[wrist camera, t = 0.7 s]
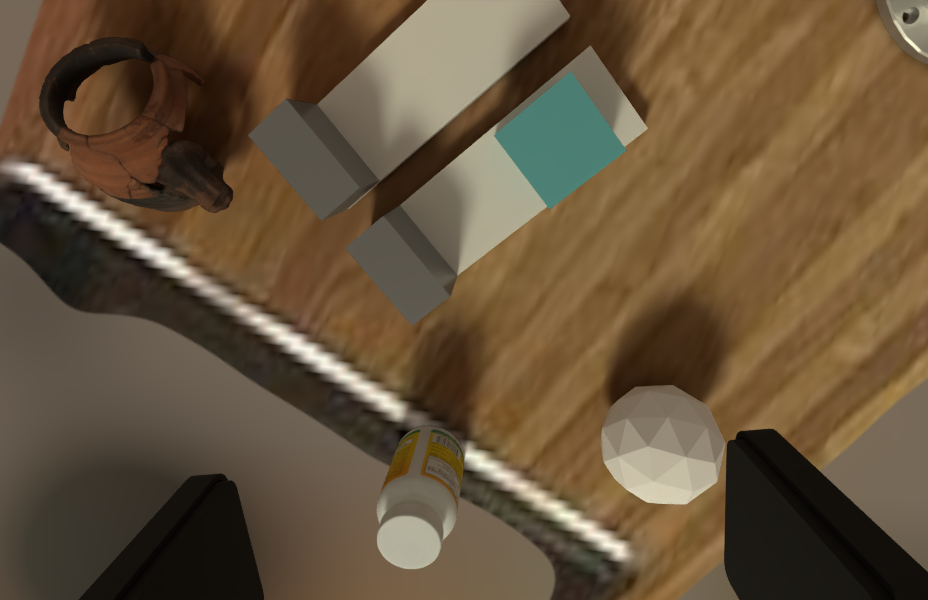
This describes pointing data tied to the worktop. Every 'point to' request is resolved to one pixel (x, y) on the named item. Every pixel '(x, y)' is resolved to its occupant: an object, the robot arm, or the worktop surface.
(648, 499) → the ball
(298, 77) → the worktop surface
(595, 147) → the cube
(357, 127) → the empty strip
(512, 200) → the strip with cube
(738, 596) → the robot arm
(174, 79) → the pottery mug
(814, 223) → the worktop surface
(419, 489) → the supplement bottle
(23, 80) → the worktop surface
